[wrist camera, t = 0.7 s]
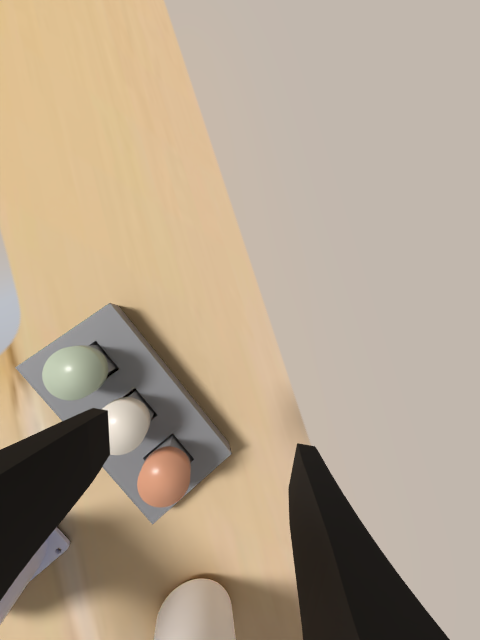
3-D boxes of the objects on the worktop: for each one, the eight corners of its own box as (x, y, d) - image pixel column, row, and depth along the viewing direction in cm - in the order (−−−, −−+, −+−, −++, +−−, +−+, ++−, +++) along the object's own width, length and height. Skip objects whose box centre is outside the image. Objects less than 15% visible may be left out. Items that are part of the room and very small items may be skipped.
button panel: (228, 442, 27) (231, 453, 25) (156, 505, 25) (152, 524, 23) (118, 305, 26) (109, 302, 23) (34, 363, 24) (15, 367, 21)
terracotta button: (165, 485, 24) (158, 518, 20) (138, 453, 24) (126, 480, 20) (199, 455, 25) (200, 481, 21) (174, 424, 24) (169, 444, 20)
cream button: (128, 441, 24) (113, 466, 19) (100, 408, 23) (79, 426, 19) (164, 412, 24) (157, 430, 20) (137, 380, 24) (125, 391, 20)
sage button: (90, 396, 23) (66, 411, 19) (60, 362, 23) (29, 369, 19) (127, 368, 24) (112, 376, 20) (100, 334, 24) (78, 335, 19)
